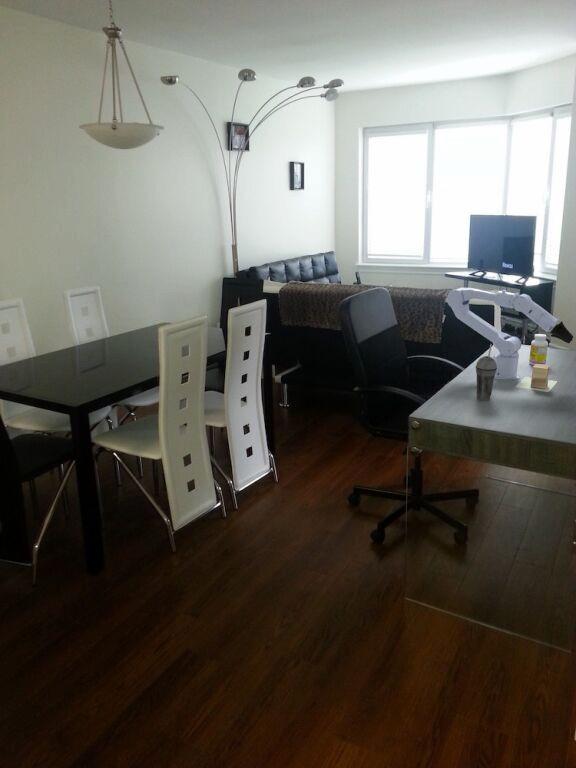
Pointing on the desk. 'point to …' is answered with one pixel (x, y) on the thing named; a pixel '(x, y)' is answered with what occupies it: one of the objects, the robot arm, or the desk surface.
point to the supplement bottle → (538, 350)
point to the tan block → (540, 376)
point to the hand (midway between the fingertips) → (571, 340)
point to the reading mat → (527, 385)
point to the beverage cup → (485, 376)
